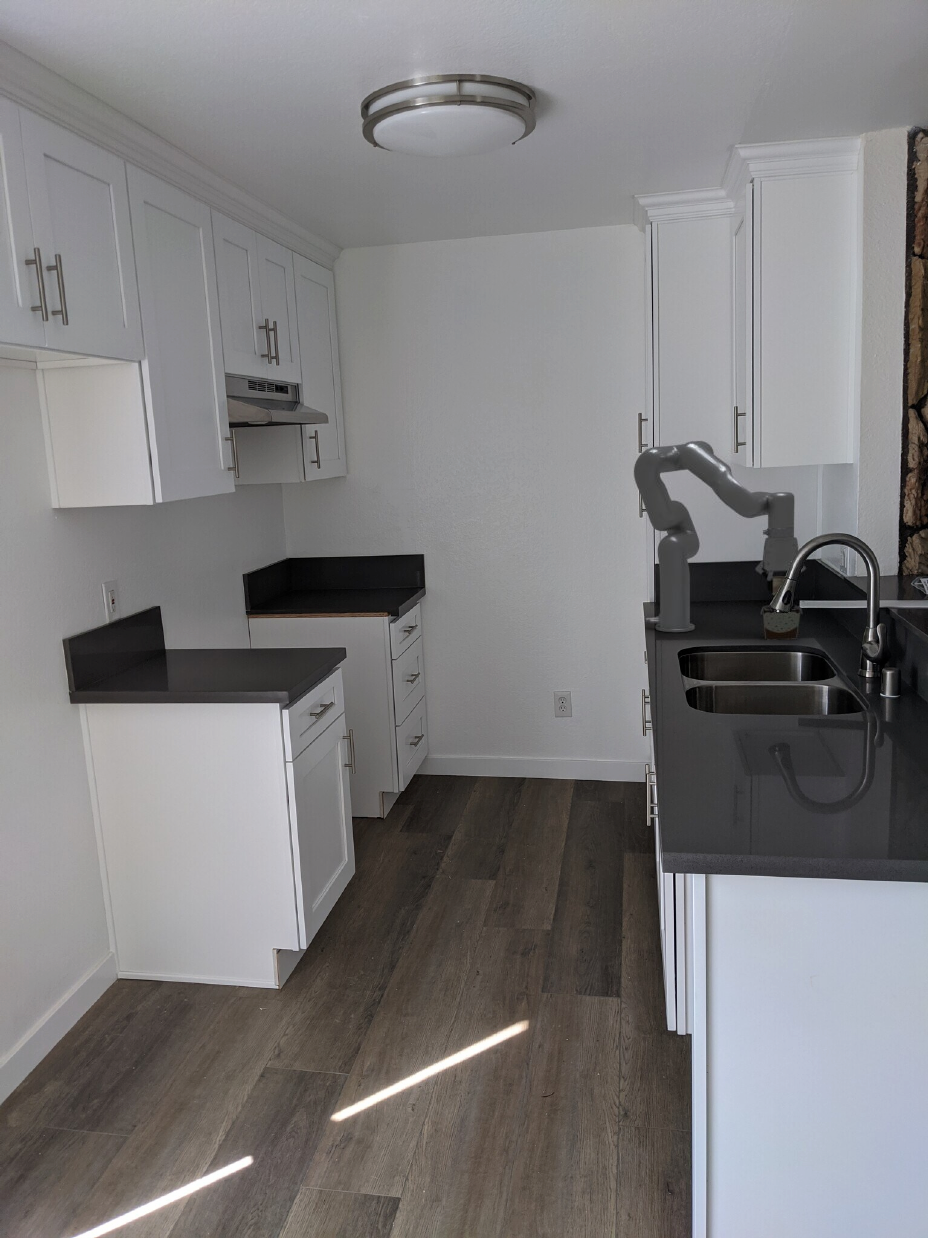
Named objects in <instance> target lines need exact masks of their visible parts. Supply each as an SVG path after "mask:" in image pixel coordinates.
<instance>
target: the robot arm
mask: <svg viewBox="0 0 928 1238" xmlns="http://www.w3.org/2000/svg"><path fill="white" fill-rule="evenodd" d="M685 470H688V472H690V473H691V474H693V475H694V476H695V477H696V478H698V479H699V480H701V482H703V483H704V484H705V485H707V486H708V487H709V488H711V490H712V491H713V492H714V494H715V495H716V496H717V497H718V499H719V500H720V501H722V503H724V504H725V506H727V507H729V508H730V509H731V510H732V511H734V513H737V515H739V516H741V517H743V518H745V519H754V518H757V517H763V516H767V528H766V529H764V530H762V535H763V536H764V535H765V536H767V537H765V539H764V544H763V545H764V546H763V552H762V553H763V554H762V560H761V561H760V562H759V564H757V566H756V567H755V568H754V569H755V571H756V572H757V573H759V574H760V575H761V576H762V577H764V578H765V579H766V591H768V593H769V594H771V595H772V593H773V581H772V577H773V574H774V572H788V569H789V566H790V564H791V561H792V560H793V559H794V557H795V555H796V554H797V552H798V551H799V550H800V549H799V543H798V538H797V537H796V536H795V494H794V493H792V492H788V491H783V492H782V491H780V492H779V491H778V492H768V491H753V492H751V491H750V490H748V489H747V488H745V487H744V486H743V485H742V484H741V483H739V482H738V481H737V480H736V479H735V478H734V476H733V473H732V468H731V466H730V465H729V464H727V462H724V460H722V459H721V458H719V457H718V456H717V455H716V454H715V453H714V449H713V447H712V446H711V444H709V443H708V442H706V441H703V440H694V441H693V440H692V441H688V442H685V443H682V444H675V445H665V446H654V447H650V448H647V449H645V450H644V451H642V452H641V454H640V455H638V457H637V459H636V461H635V463H634V467H633V478H634V481H635V484H636V487H637V489H638V492H639V494H640V497H641V499H642V502H643V506H644V508H645V510H646V513H647V516H648V520H649V522H650V524H651V526H652V527H653V529H654V530H655V531H659V532H666V534H667V535H665V536H664V537H662V538H661V540H660V541H659V543H658V546H657V558H658V565H659V585H660V586H659V587H660V588H659V591H660V593H659V603H660V606H659V607H660V609H659V614H658V616H657V615H656V616H655V617H652V616H647V617H645V622H646V623H645V624H651V625H652V624H653V625H654V624H656V625H655V629H656V631H660V632H666V633H686V632H690V631H691V632H692V631H693V630H695V629H696V628H695V627H696V626H695V624H693V623H692V622H691V619H690V618H691V614H690V613H691V612H690V611H691V606H690V605H691V603H690V602H691V601H690V600H691V599H690V598H691V596H690V595H691V593H690V592H691V588H690V587H691V585H690V584H691V582H690V581H691V578H690V577H691V575H690V573H691V572H690V567H689V561H688V560H689V559H691V558H694V557H695V556H696V555H697V554H698V552H699V549H700V539H699V535H698V533H697V530H696V528H695V525H694V523H693V520H692V517H691V515H690V512H689V510H688V508H687V507H686V506H685V504H684V503H682V502H680V501H678V500H674V499H673V500H672V499H671V496H670V494H669V492H668V488H667V487H666V484H665V483H664V481H663V480H662V478H661V474H662V473H664V474H665V473H670V472H678V471H685ZM799 552H800V551H799ZM763 569H764V570H765V571H766V572H765V571H764V570H763ZM806 569H807V567H806V566H805V565H804V566H803V568H802V569H801V573H802V572H804V571H805V570H806ZM690 622H691V623H690Z"/></svg>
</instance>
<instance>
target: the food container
mask: <svg viewBox="0 0 928 1238" xmlns="http://www.w3.org/2000/svg"><path fill="white" fill-rule="evenodd" d="M771 605H772V604H770V605H769V604H768V605H765V606H762V609H761V610H760V615H762V621H763V623H762V624H763V634H764V640H765V639H788V638H789V639H791V638H797V639H798V632H799V626H800V625H799V624H800V618H801V615H803V609H802V607H801V606H798V605H794V606H795V607H794V609H792V610H791V612H788V613H776V612H774V610H772V609H771Z"/></svg>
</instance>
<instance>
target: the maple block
mask: <svg viewBox="0 0 928 1238" xmlns="http://www.w3.org/2000/svg"><path fill="white" fill-rule="evenodd" d="M784 579H785V576H784V575H783V576H782V575H781V576H779V575H778V576H777V575H776V576H772V581H773V593H772V594H771V595H773V596H776V595H775V594H777V592H778V589H779V588H780V586H781V585H782V583H783V580H784Z"/></svg>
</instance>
